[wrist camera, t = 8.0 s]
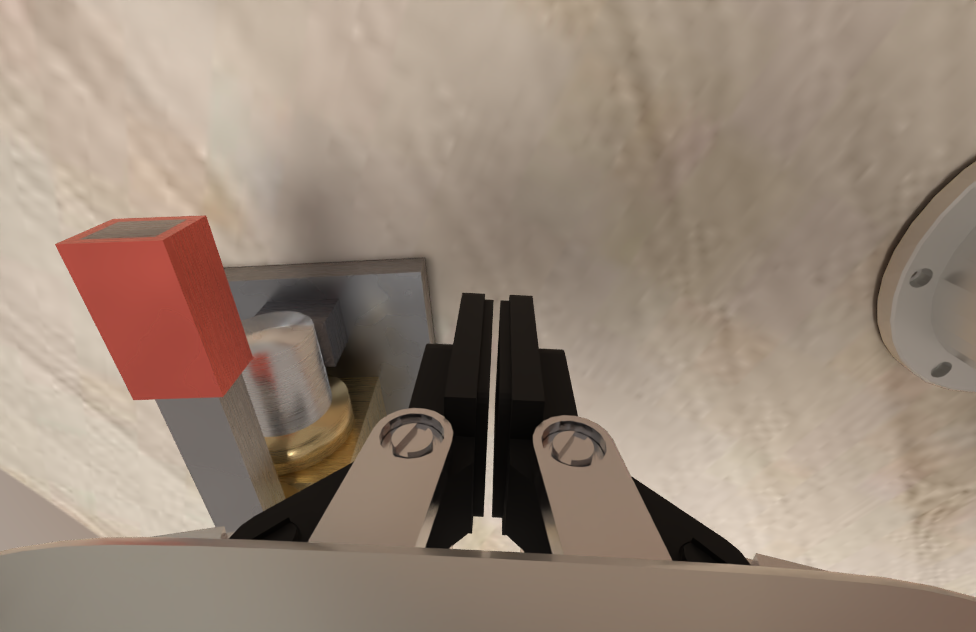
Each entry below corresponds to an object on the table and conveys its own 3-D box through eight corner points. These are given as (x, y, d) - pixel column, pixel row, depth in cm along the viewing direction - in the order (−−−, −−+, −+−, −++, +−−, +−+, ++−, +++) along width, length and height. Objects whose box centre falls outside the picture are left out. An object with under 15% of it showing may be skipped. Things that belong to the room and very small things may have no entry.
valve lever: (329, 563, 18) (310, 622, 16) (259, 565, 18) (233, 624, 16) (217, 213, 11) (165, 244, 9) (108, 216, 11) (34, 248, 9)
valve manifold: (424, 257, 20) (395, 355, 14) (454, 499, 27) (445, 638, 21) (194, 269, 20) (55, 370, 14) (283, 506, 28) (221, 646, 21)
